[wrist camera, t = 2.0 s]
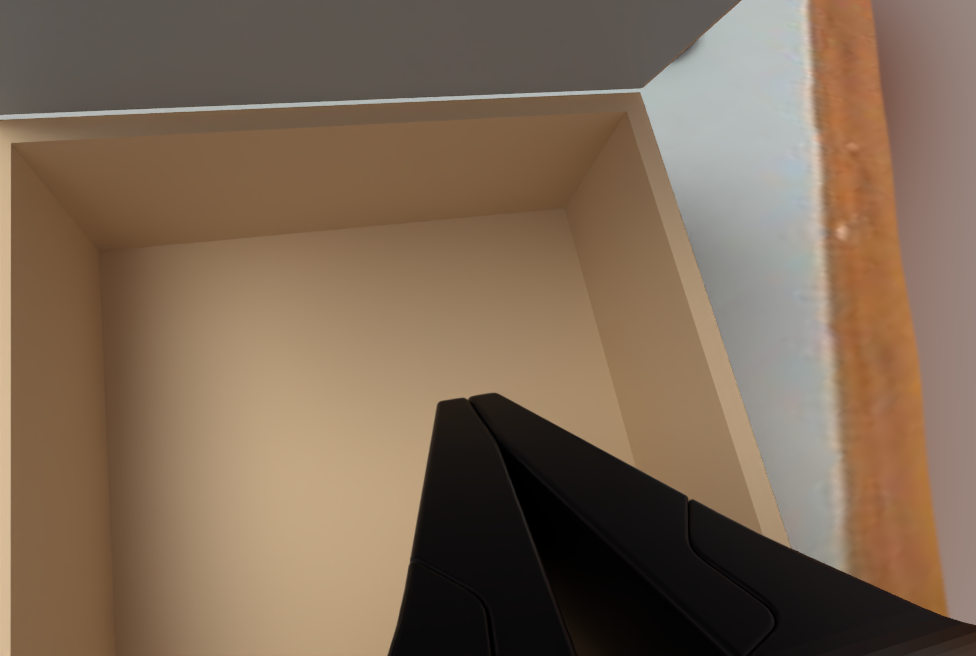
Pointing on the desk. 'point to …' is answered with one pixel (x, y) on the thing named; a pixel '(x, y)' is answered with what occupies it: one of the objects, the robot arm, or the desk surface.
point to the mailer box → (322, 354)
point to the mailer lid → (330, 49)
